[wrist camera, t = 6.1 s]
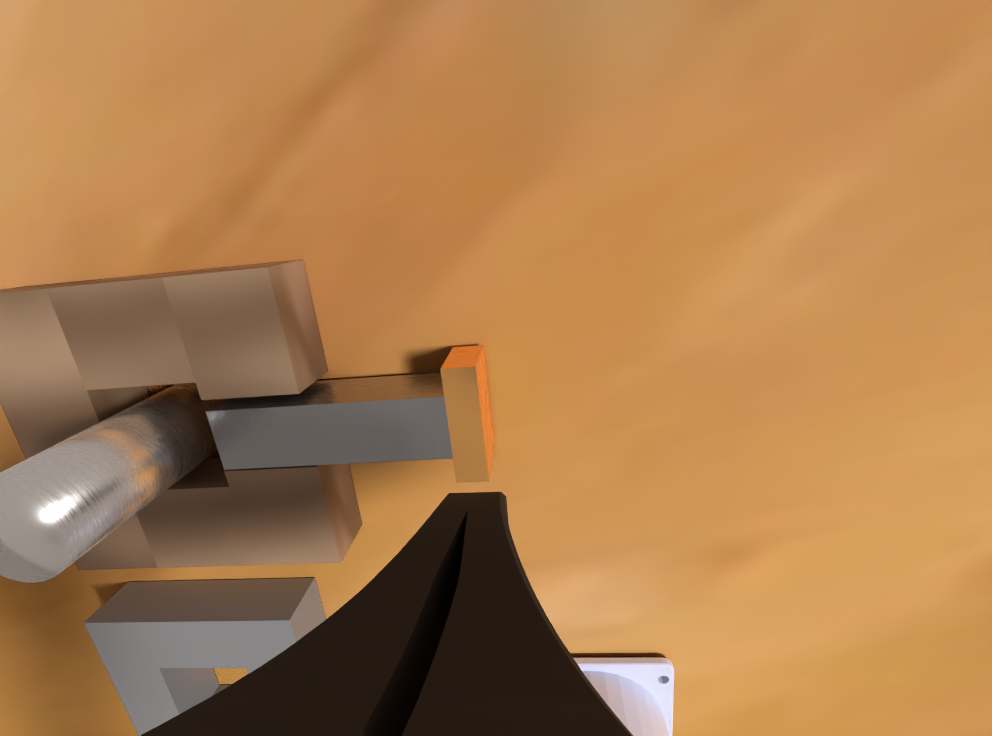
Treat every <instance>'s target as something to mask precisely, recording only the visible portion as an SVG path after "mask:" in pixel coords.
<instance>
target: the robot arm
mask: <svg viewBox="0 0 992 736" xmlns="http://www.w3.org/2000/svg"><path fill="white" fill-rule="evenodd" d="M673 695H674V668H673V665H672V662H671V661H670V660H669V659H667V658H662V657H645V658H573V657H572V655H571V654H570V652H569V651H568V650H567V648H566V647H565V645H564V644H563V642H562V641H561V639H560V638H559V636H558V634H557V633H556V631H555V629H554V628H553V626H552V624H551V623H550V621H549V619H548V617H547V616H546V614H545V612H544V610H543V608H542V607H541V605H540V603H539V601H538V599H537V597H536V595H535V593H534V591H533V589H532V587H531V585H530V583H529V580H528V578H527V576H526V574H525V571H524V569H523V567H522V564H521V562H520V559H519V557H518V554H517V551H516V548H515V545H514V542H513V539H512V536H511V533H510V529H509V525H508V513H507V501H506V496H505V495H504V494H503V493H502V492H478V493H449V494H448V495H447V496H446V497H445V499H444V500H443V501H442V502H441V503H440V505H439V506H438V507H437V508H436V510H435V511H434V512H433V513H432V515H431V516H430V517H429V518H428V519H427V521H426V522H425V523H424V524H423V525H422V527H421V528H420V529H419V530H418V531H417V532H416V534H415V535H414V536H413V537H412V538H411V539H410V540H409V542H408V543H407V544H406V545H405V546H404V547H403V548H402V550H401V551H400V552H399V553H398V554H397V555H396V556H395V557H394V558H393V559H392V560H391V561H390V562H389V563H388V564H387V565H386V566H385V567H384V568H383V569H382V570H381V571H380V572H379V573H378V574H377V575H376V576H375V578H374V579H372V580H371V581H370V582H369V583H368V584H367V585H366V586H365V587H364V588H363V589H362V590H361V591H360V592H359V593H358V594H356V595H355V596H354V597H353V598H352V599H351V600H349V601H348V602H347V603H346V604H345V605H343V606H342V607H341V608H340V609H339V610H338V611H336V612H335V613H334V614H333V615H331V616H330V617H329V618H328V619H326V620H325V621H324V622H322V623H321V624H319V625H318V626H317V627H315V628H314V629H313V630H311V631H310V632H309V633H307V634H306V635H305V636H303V637H302V638H301V639H299V640H298V641H297V642H295V643H294V644H293V645H291V646H290V647H289V648H287V649H286V650H284V651H283V652H281V653H280V654H278V655H277V656H275V657H274V658H272V659H271V660H269V661H268V662H266V663H265V664H263V665H262V666H260V667H259V668H257V669H256V670H254V671H252V672H251V673H249V674H248V675H246V676H244V677H243V678H241V679H240V680H238V681H236V682H235V683H233V684H232V685H230V686H228V687H227V688H225V689H223V690H222V691H220V692H218V693H217V694H215V695H213V696H211V697H210V698H208V699H206V700H204V701H202V702H201V703H199V704H197V705H195V706H193V707H191V708H190V709H188V710H186V711H184V712H182V713H181V714H179V715H177V716H175V717H173V718H172V719H170V720H168V721H166V722H164V723H163V724H161V725H159V726H157V727H155V728H153V729H151V730H149V731H148V732H146V733H144V734H142V735H141V736H672V726H673Z"/></svg>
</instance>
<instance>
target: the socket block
mask: <svg viewBox="0 0 992 736" xmlns="http://www.w3.org/2000/svg"><path fill="white" fill-rule="evenodd" d="M326 372H328V368H327V364H326V360H325V355H324V351H323V346H322V342H321V337H320V333H319V328H318V324H317V319H316V315H315V310H314V306H313V301H312V297H311V292H310V288H309V284H308V279H307V275H306V270H305V266H304V261H303V260H294V261H284V262H273V263H263V264H253V265H242V266H232V267H222V268H211V269H201V270H191V271H180V272H170V273H160V274H149V275H139V276H129V277H118V278H108V279H98V280H87V281H77V282H67V283H56V284H46V285H36V286H25V287H18V288H11V289H5V290H0V404H1V406H2V408H3V411H4V413H5V415H6V417H7V419H8V421H9V423H10V425H11V428H12V430H13V432H14V434H15V436H16V438H17V440H18V442H19V445H20V447H21V449H22V451H23V453H24V455H25V457H26V459H28V458H30V457H32V456H34V455H36V454H38V453H40V452H42V451H44V450H46V449H48V448H50V447H52V446H54V445H56V444H58V443H60V442H62V441H64V440H66V439H68V438H70V437H72V436H74V435H76V434H78V433H80V432H82V431H84V430H86V429H88V428H90V427H91V426H93V425H95V424H97V423H99V422H101V421H103V420H105V419H107V418H109V417H111V416H113V415H115V414H117V413H119V412H121V411H123V410H125V409H127V408H129V407H131V406H133V405H135V404H137V403H139V402H141V401H143V400H145V399H147V398H149V397H150V395H149V392H148V389H147V387H146V386H152V385H167V384H181V383H195V382H196V385H197V388H198V392H199V395H200V398H201V400H213V399H228V398H243V397H258V396H274V395H289V394H300V393H301V392H302V391H303V390H305V389H306V388H307V387H308V386H310V385H311V384H312V383H314V382H315V381H316V380H317V379H319V378H320V377H321V376H322V375H324V374H325V373H326ZM361 526H362V521H361V516H360V512H359V507H358V503H357V498H356V494H355V489H354V485H353V480H352V476H351V471H350V467H349V464H330V465H310V466H289V467H269V468H248V469H228V470H224V467H223V464H222V461H221V458H206V459H205V460H204V461H203V462H201V463H200V464H199V465H198V466H196V467H195V468H194V469H192V470H191V471H190V472H189V473H187V474H186V475H185V476H183V477H182V478H181V479H180V480H178V481H177V482H176V483H175V484H173V485H172V486H171V487H169V488H168V489H167V490H166V491H164V492H163V493H162V494H160V495H159V496H158V497H157V498H155V499H154V500H153V501H152V502H150V503H149V504H148V505H146V506H145V507H144V508H143V509H141V510H140V511H139V512H137V513H136V514H135V515H134V516H132V517H131V518H130V519H129V520H127V521H126V522H125V523H123V524H122V525H121V526H120V527H118V528H117V529H116V530H114V531H113V532H112V533H111V534H109V535H108V536H107V537H106V538H104V539H103V540H102V541H100V542H99V543H98V544H97V545H95V546H94V547H93V548H91V549H90V550H89V551H88V552H86V553H85V554H84V555H83V556H81V557H80V558H79V559H77V560H76V561H75V564H76V566H77V568H78V570H90V569H129V568H167V567H206V566H245V565H283V564H322V563H341V562H342V561H343V559H344V557H345V555H346V553H347V551H348V550H349V548H350V546H351V544H352V542H353V540H354V538H355V537H356V535H357V533H358V531H359V529H360V527H361Z"/></svg>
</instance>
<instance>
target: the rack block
mask: <svg viewBox="0 0 992 736" xmlns="http://www.w3.org/2000/svg"><path fill="white" fill-rule="evenodd" d="M325 620H326V617H325V613H324V610H323V606H322V602H321V599H320V595H319V591H318V588H317V584H316V581H315V578H278V579H233V580H189V581H145V582H128V583H127V584H125V585H124V586H123V587H122V588H121V589H120V590H119V591H118V592H117V593H116V594H115V595H113V596H112V597H111V598H110V599H109V600H108V601H107V602H106V603H105V604H104V605H103V606H101V607H100V608H99V609H98V610H97V611H96V612H95V613H94V614H93V615H92V616H91V617H90V618H88V619H87V620H86V621H85V622H84V625H85V627H86V629H87V631H88V633H89V635H90V637H91V639H92V641H93V643H94V645H95V648H96V650H97V652H98V654H99V656H100V658H101V660H102V662H103V664H104V666H105V668H106V670H107V672H108V674H109V676H110V678H111V680H112V682H113V684H114V687H115V689H116V691H117V693H118V695H119V697H120V699H121V701H122V703H123V705H124V707H125V709H126V711H127V713H128V715H129V717H130V719H131V721H132V723H133V725H134V728H135V730H136V732H137V734H138V736H141V735H142V734H144V733H146V732H148V731H149V730H151V729H153V728H155V727H157V726H159V725H161V724H163V723H164V722H166V721H168V720H170V719H172V718H173V717H175V716H177V715H179V714H181V713H182V712H184V711H186V710H188V709H190V708H191V707H193V706H195V705H197V704H199V703H201V702H202V701H204V700H206V699H208V698H210V697H211V696H213V695H215V694H217V693H218V692H220V691H222V690H223V689H225V688H227V687H228V686H230V685H219V683H218V680H217V677H216V675H215V672H214V670H213V668H247V671H248V674H249V673H251V672H252V671H254V670H256V669H257V668H259V667H260V666H262V665H263V664H265V663H266V662H268V661H269V660H271V659H272V658H274V657H275V656H277V655H278V654H280V653H281V652H283V651H284V650H286V649H287V648H289V647H290V646H291V645H293V644H294V643H295V642H297V641H298V640H299V639H301V638H302V637H303V636H305V635H306V634H307V633H309V632H310V631H311V630H313V629H314V628H315V627H317V626H318V625H319V624H321V623H322V622H324V621H325Z"/></svg>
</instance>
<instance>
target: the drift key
mask: <svg viewBox="0 0 992 736" xmlns="http://www.w3.org/2000/svg"><path fill="white" fill-rule="evenodd" d="M440 370H441V373H428V374H413V375H399V376H384V377H369V378H355V379H340V380H325V381H315V382H314V383H312V384H311V385H310V386H308V387H307V388H306V389H305V390H303V391H302V392H301V393H300V394H289V395H274V396H258V397H243V398H228V399H225V400H224V401H222V402H220V403H219V404H217V405H215V406H214V407H212V408H211V409H209V410H207V411H206V415H207V418H208V421H209V424H210V427H211V430H212V433H213V436H214V439H215V443H216V446H217V449H218V452H219V455H220V458H221V461H222V464H223V467H224V470H228V469H248V468H269V467H289V466H310V465H330V464H351V463H371V462H392V461H412V460H433V459H453V461H454V468H455V475H456V482H457V483H461V482H484V481H489V479H490V473H491V466H492V460H493V454H494V448H495V445H494V436H493V427H492V418H491V409H490V399H489V390H488V381H487V372H486V363H485V354H484V345H478V346H464V347H453V348H452V350H451V352H450V353H449V355H448V357H447V358H446V360H445V362H444V363H443V365H442V367H441V369H440Z"/></svg>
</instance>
